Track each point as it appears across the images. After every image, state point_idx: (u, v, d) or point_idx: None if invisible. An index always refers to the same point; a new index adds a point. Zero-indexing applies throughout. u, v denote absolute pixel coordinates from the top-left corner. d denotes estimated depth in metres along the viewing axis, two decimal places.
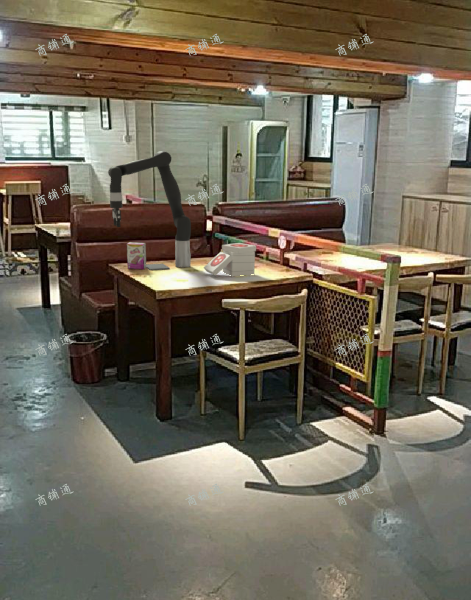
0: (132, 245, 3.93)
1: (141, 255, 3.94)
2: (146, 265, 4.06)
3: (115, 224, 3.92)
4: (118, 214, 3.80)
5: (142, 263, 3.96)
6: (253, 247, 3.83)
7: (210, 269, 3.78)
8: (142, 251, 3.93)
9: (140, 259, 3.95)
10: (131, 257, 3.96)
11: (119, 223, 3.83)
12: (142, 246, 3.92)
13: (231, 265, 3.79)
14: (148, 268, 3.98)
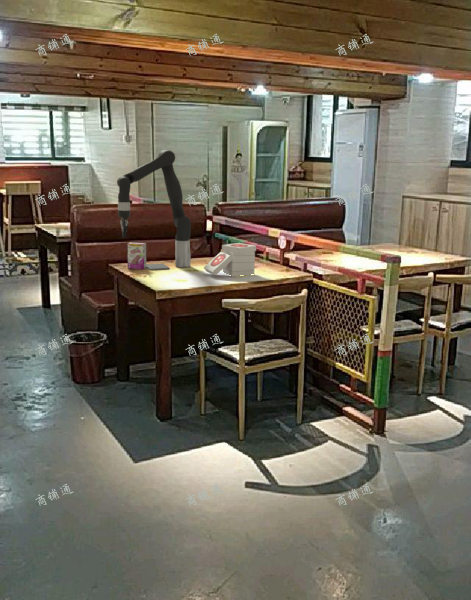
0: (133, 245, 3.94)
1: (141, 255, 3.95)
2: (146, 265, 4.06)
3: None
4: (125, 227, 3.86)
5: (142, 263, 3.96)
6: (253, 247, 3.83)
7: (210, 269, 3.78)
8: (142, 251, 3.94)
9: (140, 259, 3.96)
10: (132, 257, 3.96)
11: (125, 233, 3.90)
12: (143, 246, 3.94)
13: (231, 265, 3.79)
14: (148, 268, 3.98)
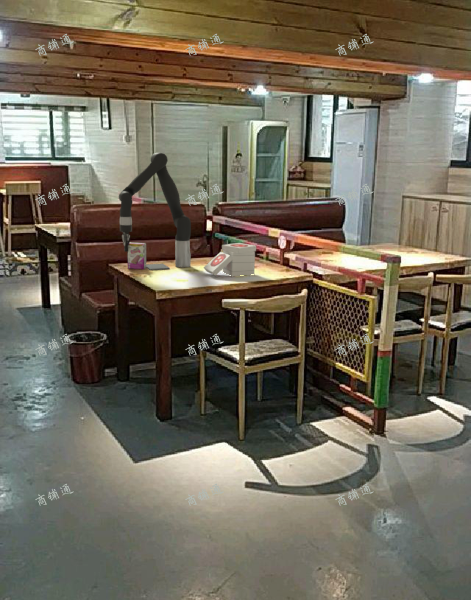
0: (133, 245, 3.94)
1: (141, 255, 3.95)
2: (146, 265, 4.06)
3: None
4: (127, 241, 3.88)
5: (142, 263, 3.96)
6: (253, 247, 3.83)
7: (210, 269, 3.78)
8: (142, 251, 3.94)
9: (140, 259, 3.96)
10: (132, 257, 3.96)
11: (127, 248, 3.93)
12: (143, 246, 3.94)
13: (231, 265, 3.79)
14: (148, 268, 3.98)
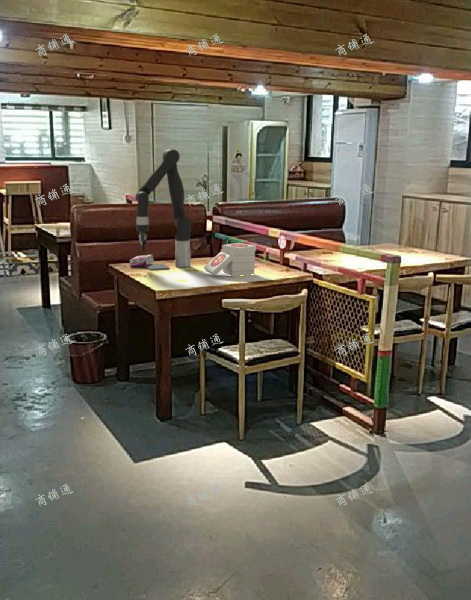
0: None
1: (147, 256, 4.10)
2: (146, 265, 4.06)
3: None
4: (144, 241, 3.92)
5: (145, 257, 4.05)
6: (253, 247, 3.83)
7: (210, 269, 3.78)
8: (149, 255, 4.13)
9: (145, 256, 4.08)
10: (137, 257, 4.10)
11: (144, 247, 3.97)
12: None
13: (231, 265, 3.79)
14: (148, 268, 3.98)
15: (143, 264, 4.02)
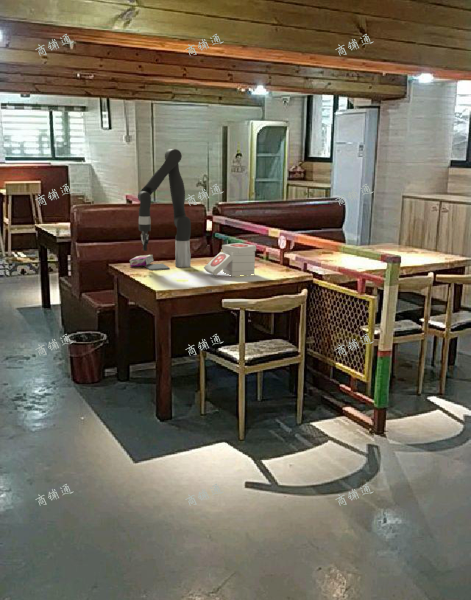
0: None
1: (147, 256, 4.10)
2: (146, 265, 4.06)
3: None
4: (146, 240, 3.93)
5: (145, 257, 4.05)
6: (253, 247, 3.83)
7: (210, 269, 3.78)
8: (149, 255, 4.13)
9: (145, 256, 4.08)
10: (137, 257, 4.10)
11: (146, 247, 3.97)
12: None
13: (231, 265, 3.79)
14: (148, 268, 3.98)
15: (143, 264, 4.02)
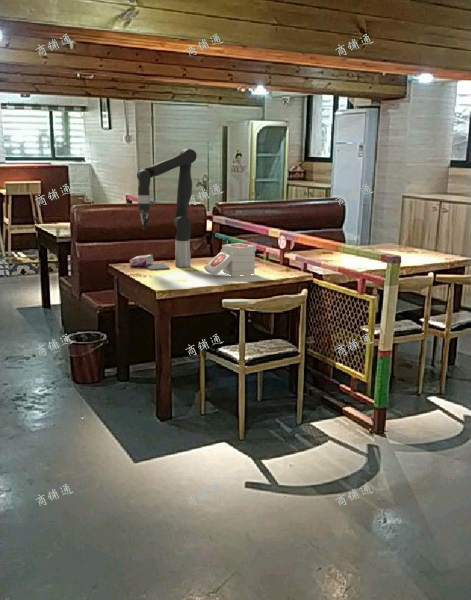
0: None
1: (147, 256, 4.10)
2: (146, 265, 4.06)
3: None
4: (145, 219, 3.90)
5: (145, 257, 4.05)
6: (253, 247, 3.83)
7: (210, 269, 3.78)
8: (149, 255, 4.13)
9: (145, 256, 4.08)
10: (137, 257, 4.10)
11: (145, 226, 3.94)
12: None
13: (231, 265, 3.79)
14: (148, 268, 3.98)
15: (143, 264, 4.02)
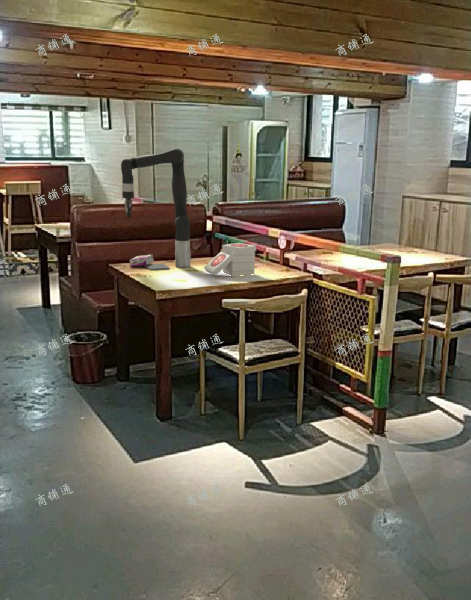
0: None
1: (147, 256, 4.10)
2: (146, 265, 4.06)
3: None
4: (129, 207, 3.98)
5: (145, 257, 4.05)
6: (253, 247, 3.83)
7: (210, 269, 3.78)
8: (149, 255, 4.13)
9: (145, 256, 4.08)
10: (137, 257, 4.10)
11: (129, 214, 4.03)
12: None
13: (231, 265, 3.79)
14: (148, 268, 3.98)
15: (143, 264, 4.02)
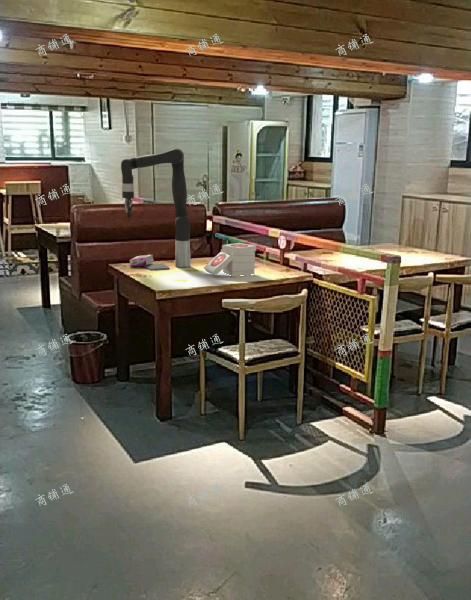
0: None
1: (147, 256, 4.10)
2: (146, 265, 4.06)
3: None
4: (129, 207, 3.98)
5: (145, 257, 4.05)
6: (253, 247, 3.83)
7: (210, 269, 3.78)
8: (149, 255, 4.13)
9: (145, 256, 4.08)
10: (137, 257, 4.10)
11: (129, 214, 4.03)
12: None
13: (231, 265, 3.79)
14: (148, 268, 3.98)
15: (143, 264, 4.02)
